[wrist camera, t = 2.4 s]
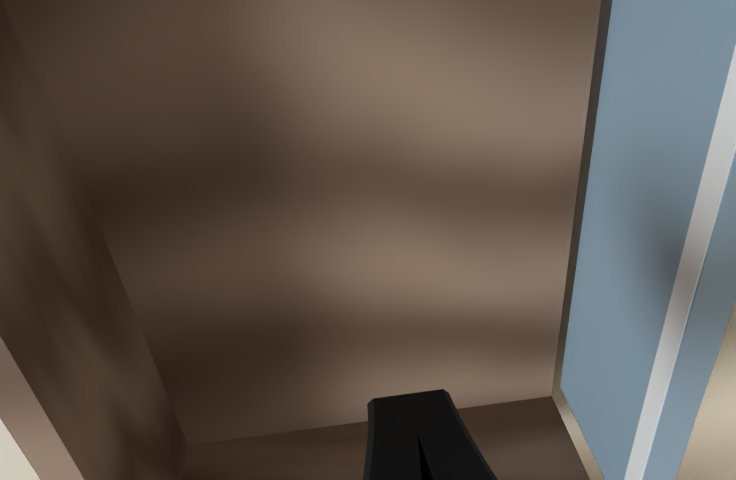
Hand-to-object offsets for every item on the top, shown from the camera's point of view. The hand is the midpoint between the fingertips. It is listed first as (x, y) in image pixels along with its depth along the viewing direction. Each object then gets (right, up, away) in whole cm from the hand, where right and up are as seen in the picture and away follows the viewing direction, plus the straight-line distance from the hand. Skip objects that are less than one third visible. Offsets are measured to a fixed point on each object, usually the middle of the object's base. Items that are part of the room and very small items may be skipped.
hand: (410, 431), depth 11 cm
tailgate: (+6, +6, +8) cm, 11 cm away
